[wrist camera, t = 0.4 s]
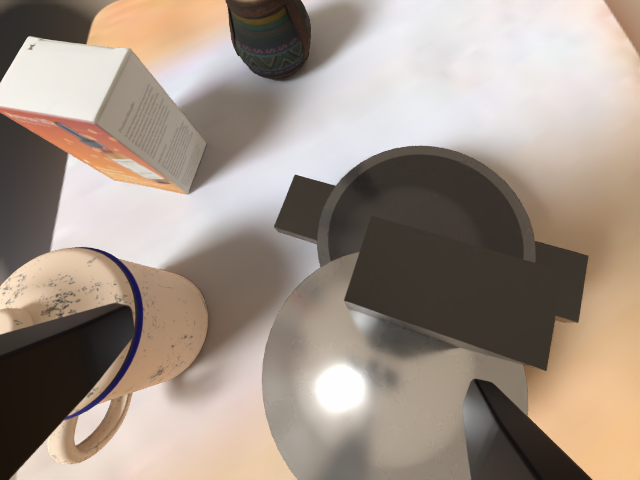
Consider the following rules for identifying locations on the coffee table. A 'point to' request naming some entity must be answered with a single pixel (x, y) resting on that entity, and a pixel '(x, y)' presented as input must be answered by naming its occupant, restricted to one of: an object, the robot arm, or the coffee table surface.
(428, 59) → the coffee table surface
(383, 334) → the lid
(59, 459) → the teacup with lid
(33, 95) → the small box
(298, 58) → the mate gourd
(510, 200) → the pot
